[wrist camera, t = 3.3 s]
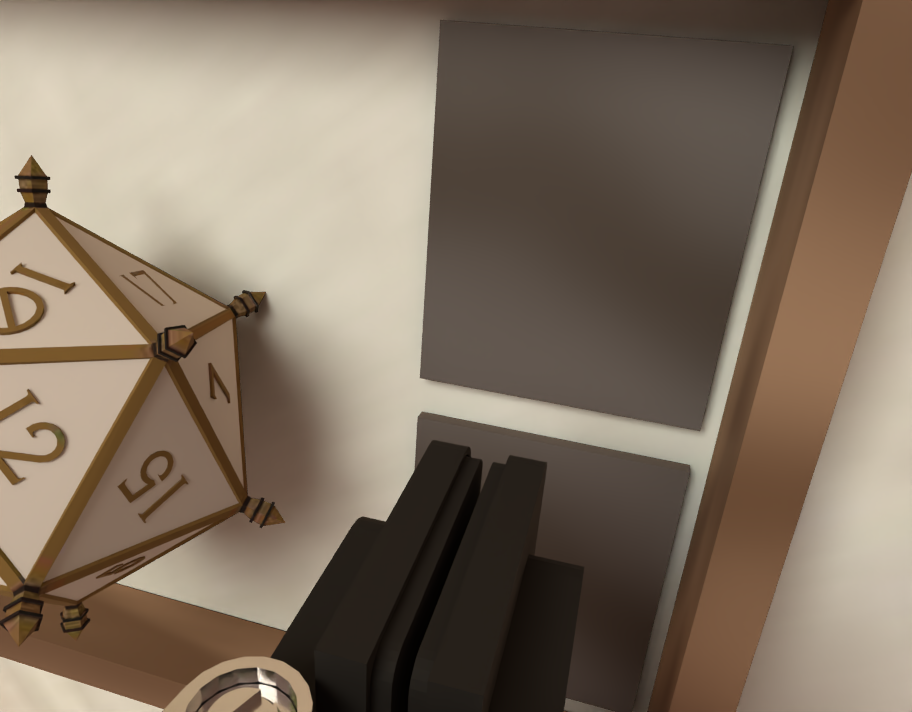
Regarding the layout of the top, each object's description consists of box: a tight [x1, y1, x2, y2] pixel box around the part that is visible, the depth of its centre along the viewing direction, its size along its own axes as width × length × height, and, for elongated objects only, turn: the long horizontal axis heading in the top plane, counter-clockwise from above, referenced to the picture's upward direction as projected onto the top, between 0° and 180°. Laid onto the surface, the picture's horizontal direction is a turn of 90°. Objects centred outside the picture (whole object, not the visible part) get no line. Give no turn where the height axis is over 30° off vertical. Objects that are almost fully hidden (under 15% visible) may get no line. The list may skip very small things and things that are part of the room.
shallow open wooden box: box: [0, 0, 912, 712], centre depth 17 cm, size 19×28×2 cm
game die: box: [0, 155, 285, 647], centre depth 14 cm, size 9×8×10 cm
